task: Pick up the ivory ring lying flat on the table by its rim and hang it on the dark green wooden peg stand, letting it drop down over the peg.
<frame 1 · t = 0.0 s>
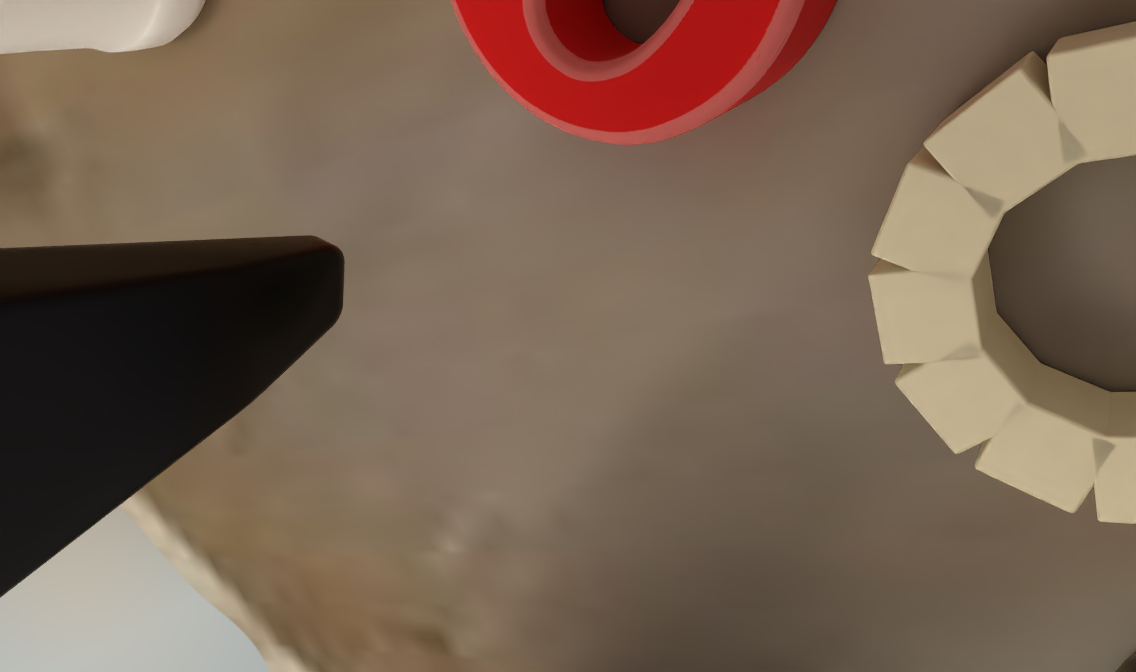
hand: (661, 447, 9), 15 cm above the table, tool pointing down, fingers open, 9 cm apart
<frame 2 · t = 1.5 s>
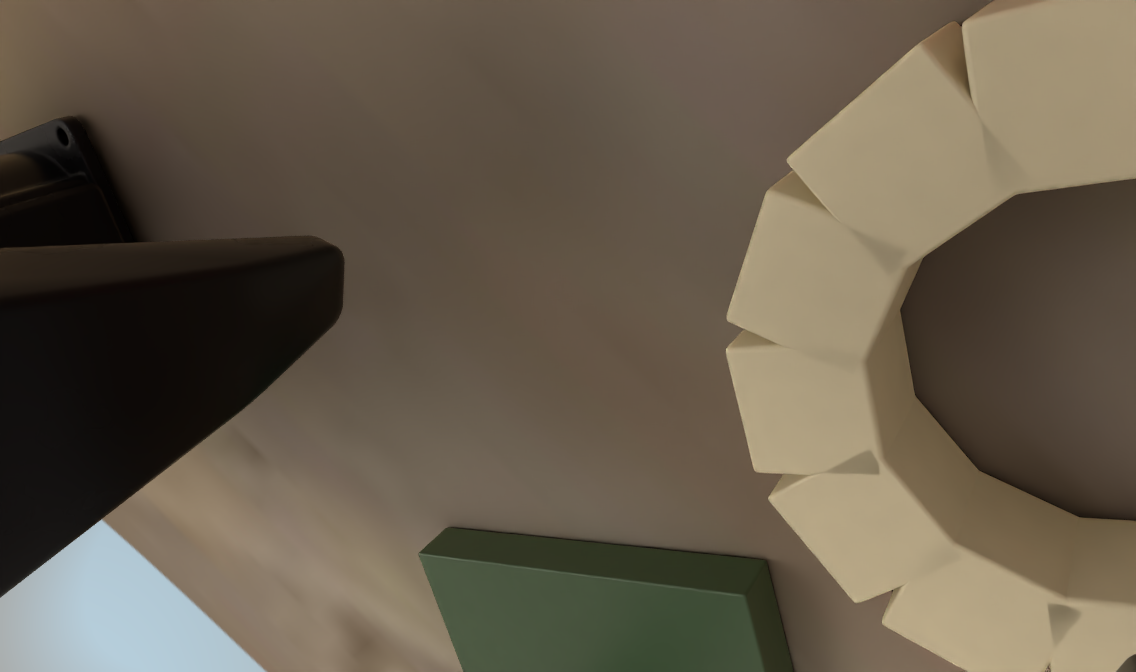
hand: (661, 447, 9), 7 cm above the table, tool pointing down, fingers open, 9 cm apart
ring: (1120, 343, 13), on the table
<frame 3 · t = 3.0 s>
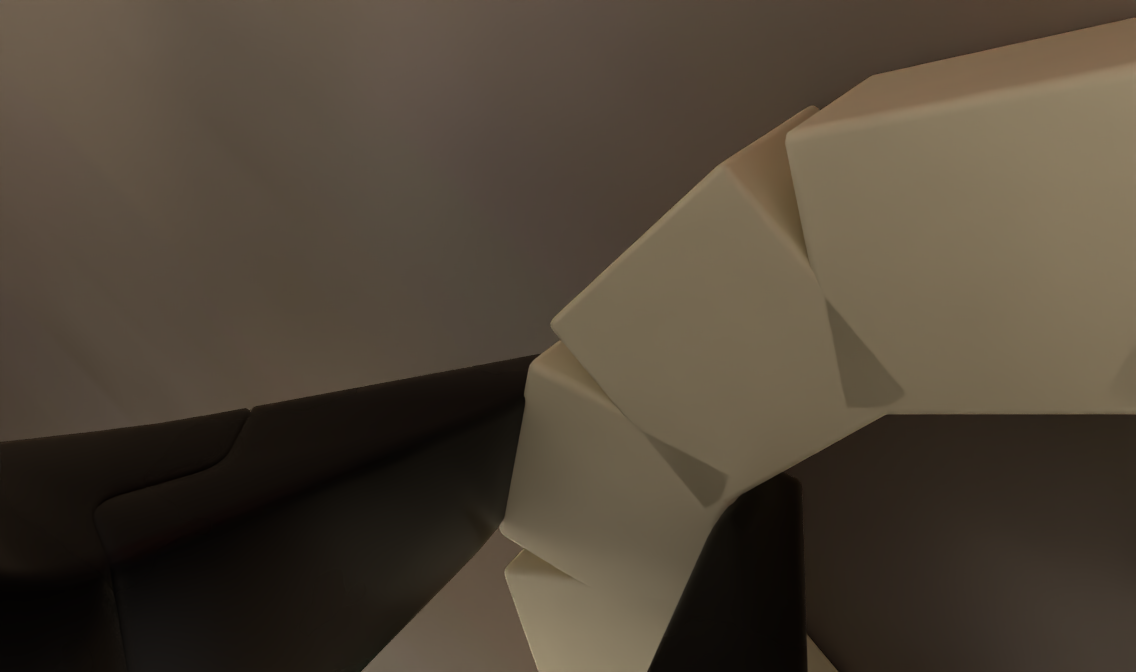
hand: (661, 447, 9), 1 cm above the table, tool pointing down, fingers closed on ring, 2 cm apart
ring: (1075, 587, 9), on the table, touching gripper
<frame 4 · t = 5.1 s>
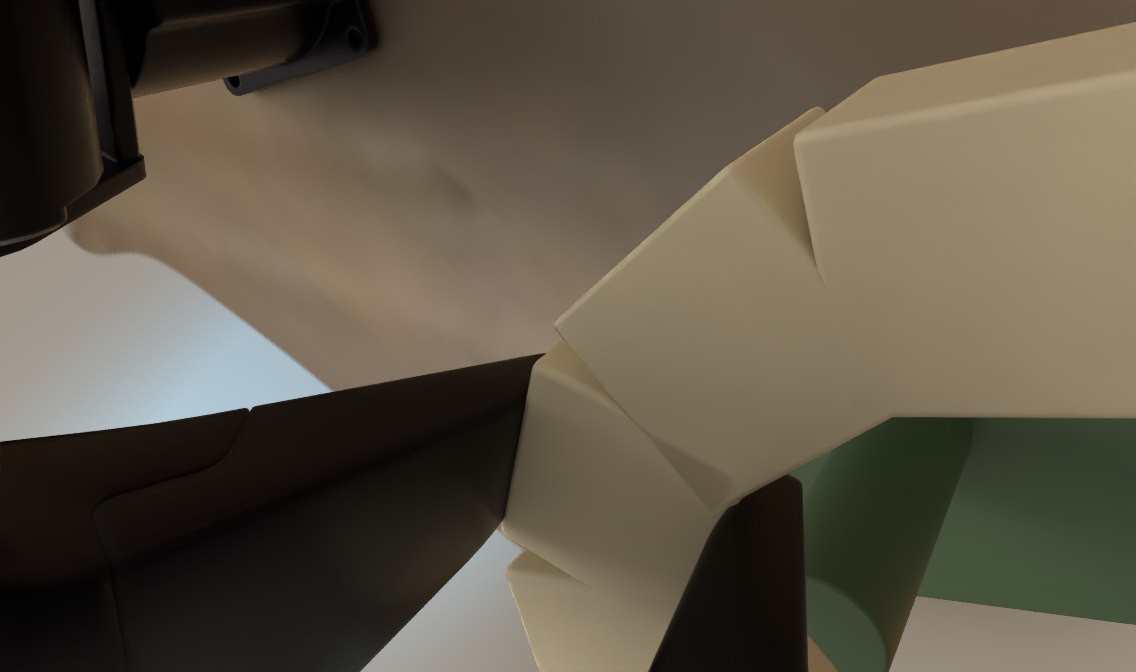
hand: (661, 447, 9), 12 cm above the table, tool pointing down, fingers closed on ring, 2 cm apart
ring: (1076, 588, 9), point 11 cm above the table, touching gripper
peg stand: (924, 404, 20), on the table
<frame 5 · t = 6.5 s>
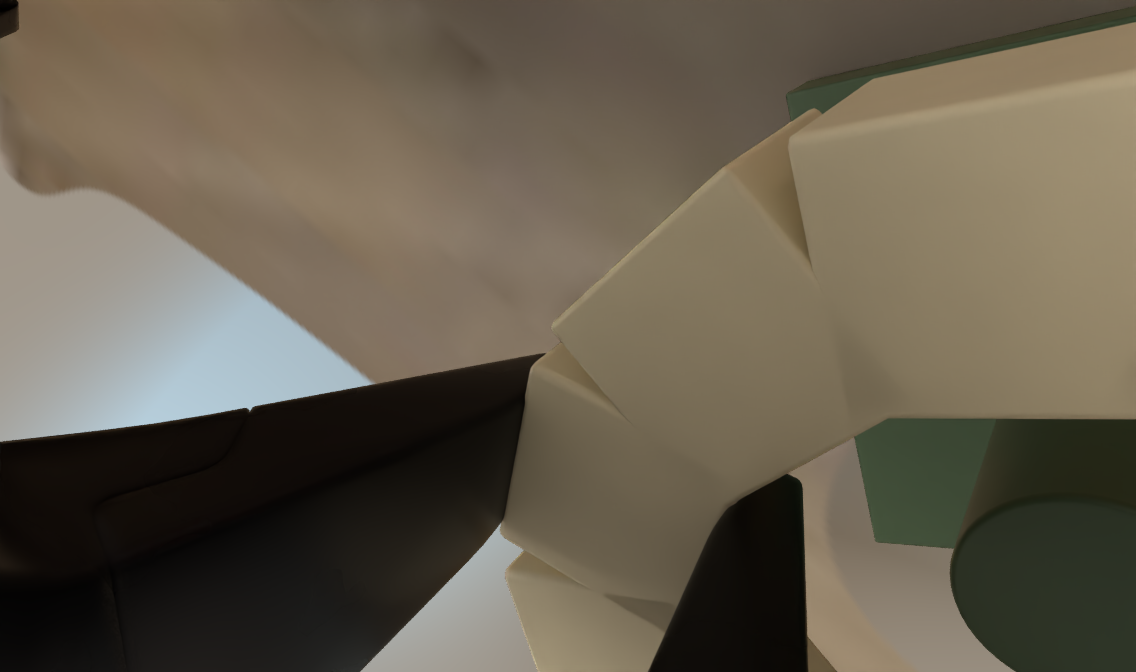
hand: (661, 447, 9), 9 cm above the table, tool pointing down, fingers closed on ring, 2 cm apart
ring: (1075, 590, 9), point 8 cm above the table, touching gripper
peg stand: (1122, 293, 15), on the table
when the fingers open (6 cm above the table, at t = 7.6 s): ring drops 4 cm, resting on peg stand.
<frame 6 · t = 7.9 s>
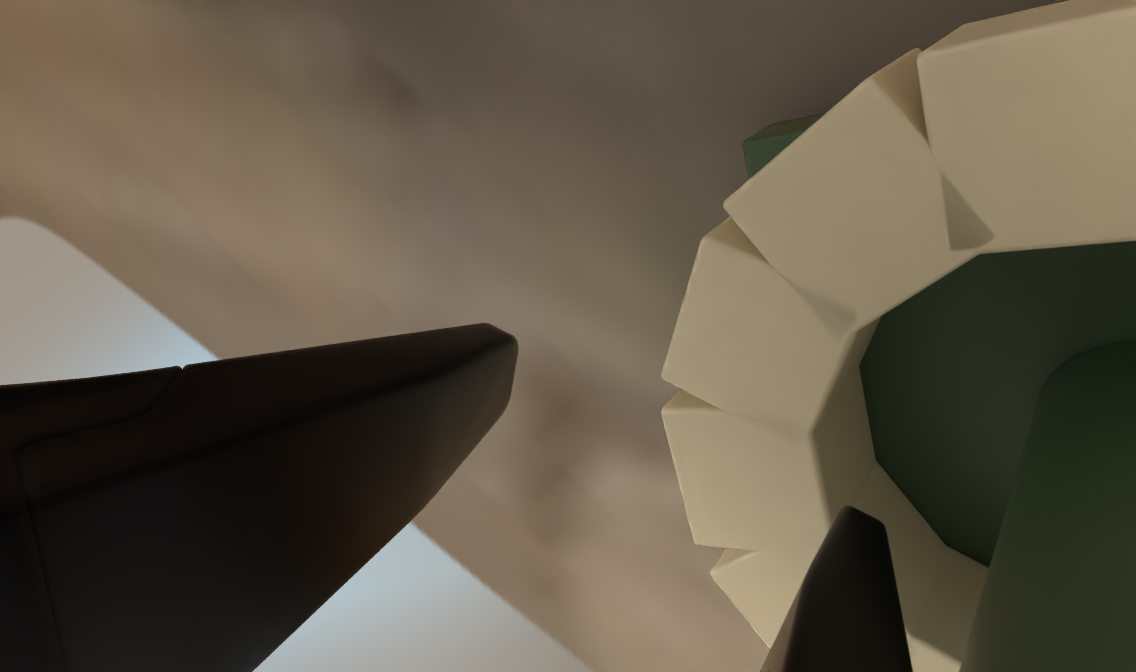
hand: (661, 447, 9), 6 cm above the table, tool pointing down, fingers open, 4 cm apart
ring: (1103, 415, 11), point 1 cm above the table, touching peg stand
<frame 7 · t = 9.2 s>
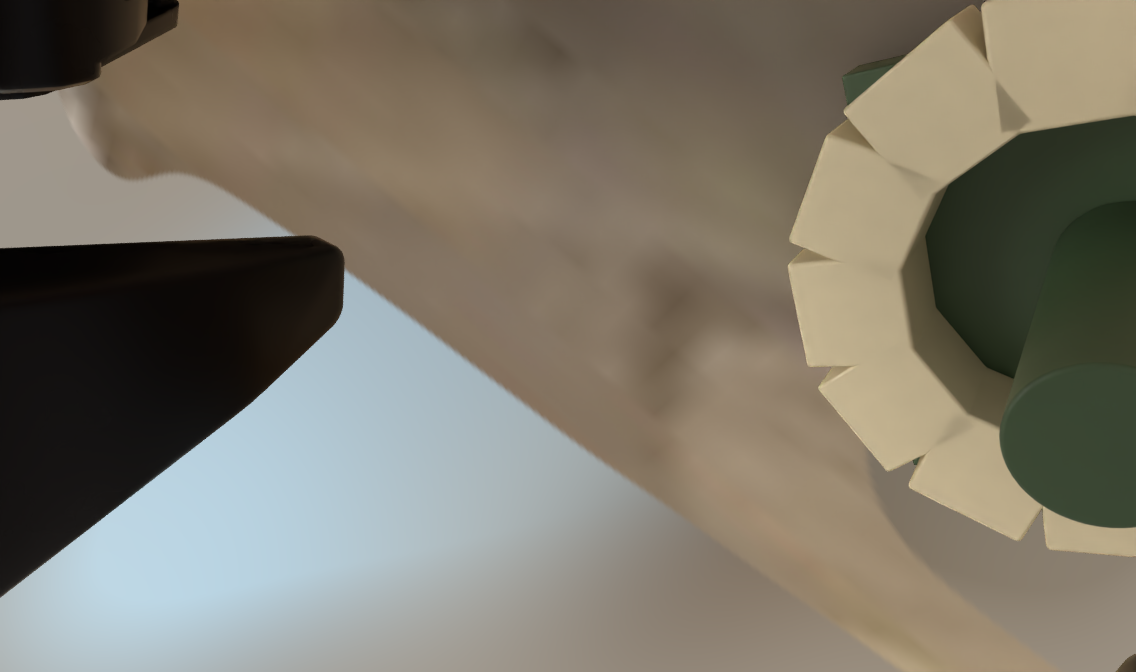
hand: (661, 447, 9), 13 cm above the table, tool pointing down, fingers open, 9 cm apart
ring: (1099, 257, 17), point 1 cm above the table, touching peg stand
peg stand: (1127, 242, 17), on the table
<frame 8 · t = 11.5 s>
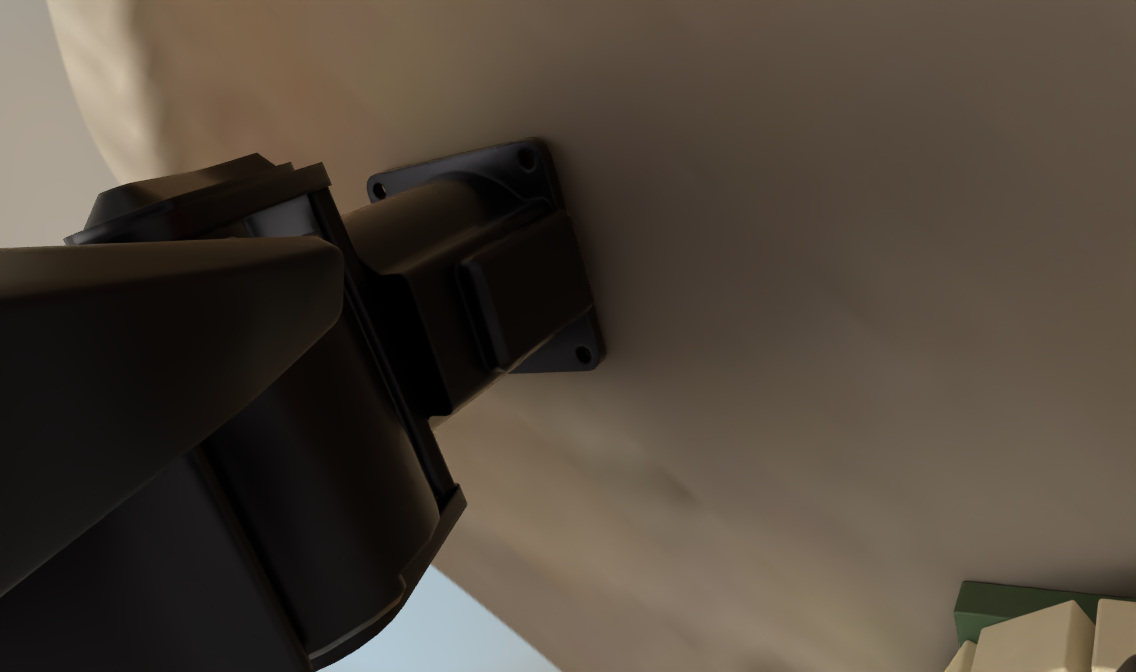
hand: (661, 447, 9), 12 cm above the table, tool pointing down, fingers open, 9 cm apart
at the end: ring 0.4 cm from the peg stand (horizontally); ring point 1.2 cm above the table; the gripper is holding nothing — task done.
